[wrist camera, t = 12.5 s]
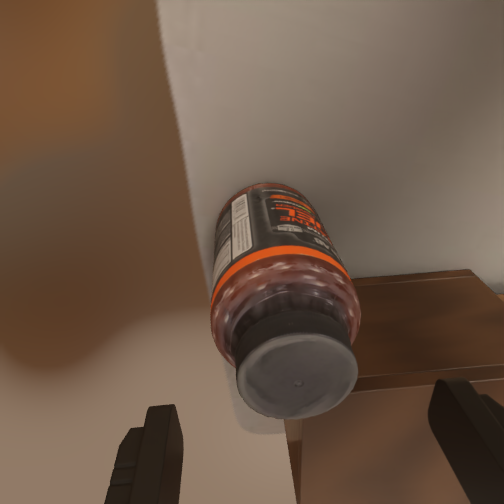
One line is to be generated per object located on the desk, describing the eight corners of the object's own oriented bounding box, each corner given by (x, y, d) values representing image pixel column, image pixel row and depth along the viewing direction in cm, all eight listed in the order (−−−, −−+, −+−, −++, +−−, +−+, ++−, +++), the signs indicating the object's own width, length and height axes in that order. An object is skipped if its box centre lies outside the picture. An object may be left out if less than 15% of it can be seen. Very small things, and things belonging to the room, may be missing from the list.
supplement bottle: (336, 208, 21) (432, 353, 11) (282, 283, 24) (322, 456, 14) (246, 159, 19) (269, 282, 10) (197, 246, 22) (176, 414, 12)
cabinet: (469, 268, 24) (579, 372, 17) (434, 387, 30) (503, 503, 22) (278, 284, 24) (302, 397, 16) (280, 401, 30) (299, 523, 22)
